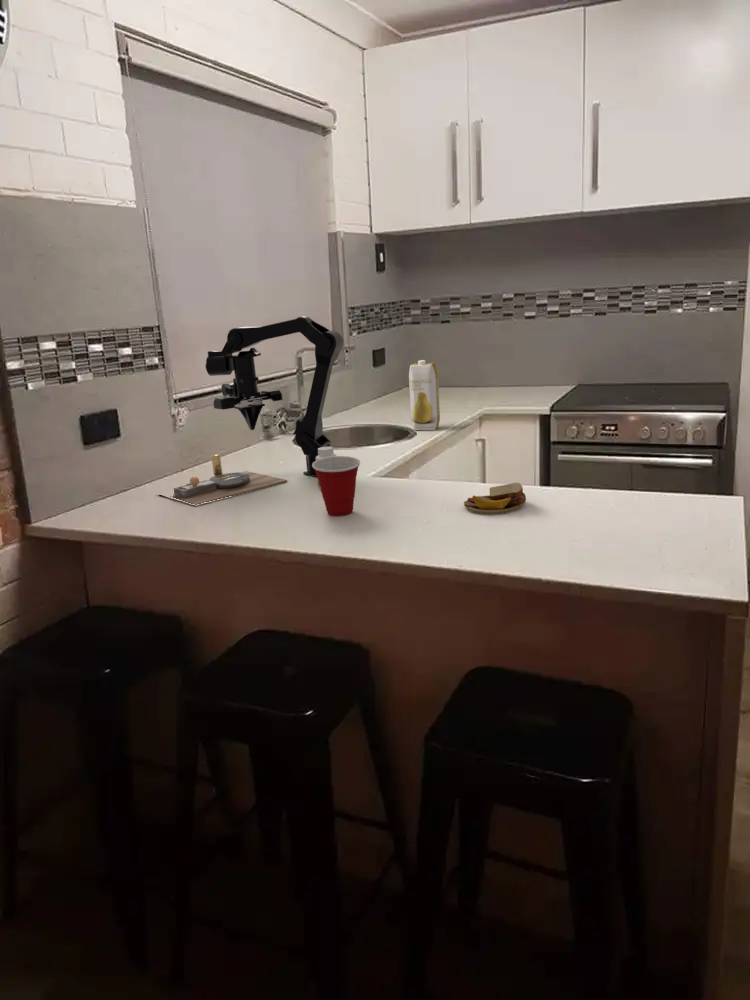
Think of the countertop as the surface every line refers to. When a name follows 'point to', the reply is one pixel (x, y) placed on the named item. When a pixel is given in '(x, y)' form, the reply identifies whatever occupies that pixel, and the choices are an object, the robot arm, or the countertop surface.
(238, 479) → the wheel
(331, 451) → the supplement bottle
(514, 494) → the toy sandwich meal
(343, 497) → the plastic cup
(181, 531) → the countertop surface
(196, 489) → the wooden base board
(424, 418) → the juice carton
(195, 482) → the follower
